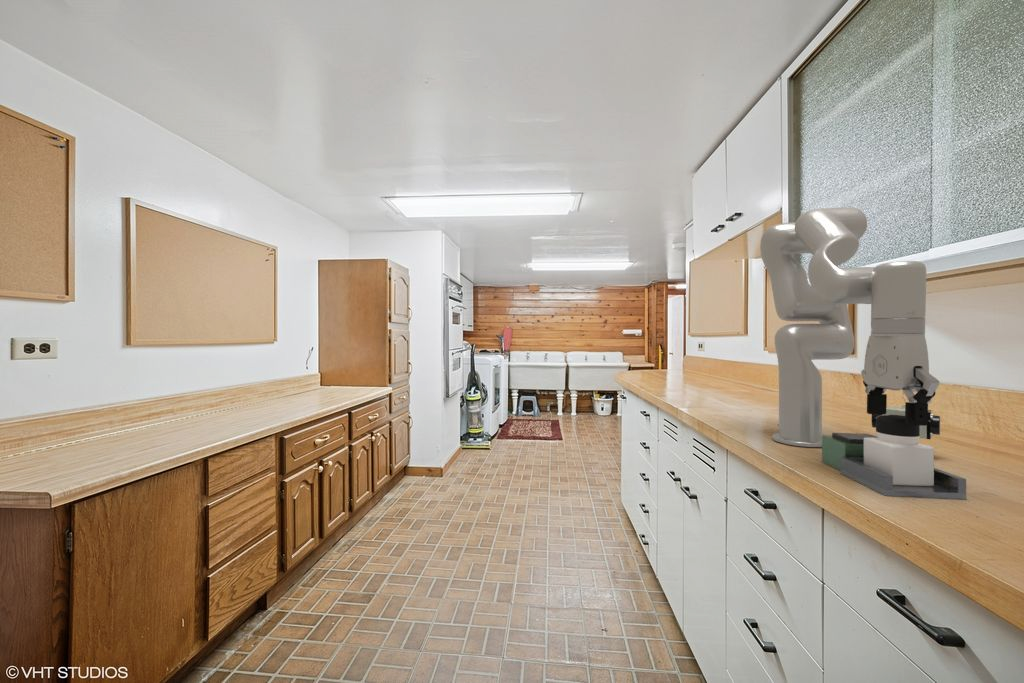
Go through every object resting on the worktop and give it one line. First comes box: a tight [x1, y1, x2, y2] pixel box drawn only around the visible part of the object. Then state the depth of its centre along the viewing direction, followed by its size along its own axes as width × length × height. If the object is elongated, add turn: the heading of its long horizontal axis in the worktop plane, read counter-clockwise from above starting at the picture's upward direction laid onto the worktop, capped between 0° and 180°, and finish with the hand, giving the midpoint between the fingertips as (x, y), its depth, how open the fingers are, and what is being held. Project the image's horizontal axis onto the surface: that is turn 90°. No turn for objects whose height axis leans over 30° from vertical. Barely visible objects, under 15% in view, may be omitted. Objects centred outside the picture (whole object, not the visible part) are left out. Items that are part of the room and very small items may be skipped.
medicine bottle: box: [864, 415, 935, 486], centre depth 79 cm, size 7×7×12 cm
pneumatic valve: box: [871, 403, 941, 440], centre depth 100 cm, size 6×12×12 cm, turn 43°
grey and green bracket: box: [821, 432, 967, 500], centre depth 83 cm, size 21×12×7 cm, turn 172°
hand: (895, 419), depth 79 cm, fingers open, 9 cm apart
